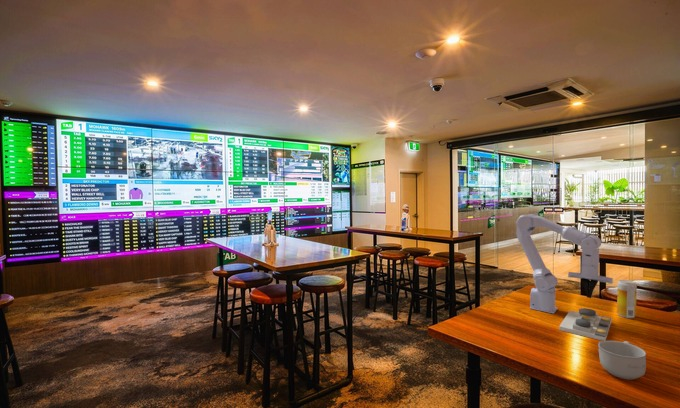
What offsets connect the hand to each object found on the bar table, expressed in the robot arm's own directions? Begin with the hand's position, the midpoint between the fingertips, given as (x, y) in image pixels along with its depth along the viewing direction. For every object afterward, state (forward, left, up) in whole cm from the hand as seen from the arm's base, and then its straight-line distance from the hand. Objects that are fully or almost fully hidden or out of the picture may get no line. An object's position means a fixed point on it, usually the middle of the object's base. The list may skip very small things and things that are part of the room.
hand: (589, 297), depth 135 cm
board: (0, -8, -10) cm, 12 cm away
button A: (0, -15, -8) cm, 17 cm away
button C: (0, 0, -8) cm, 8 cm away
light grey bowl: (+13, -40, -10) cm, 43 cm away
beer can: (+11, +16, -10) cm, 22 cm away
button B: (0, -8, -6) cm, 10 cm away
